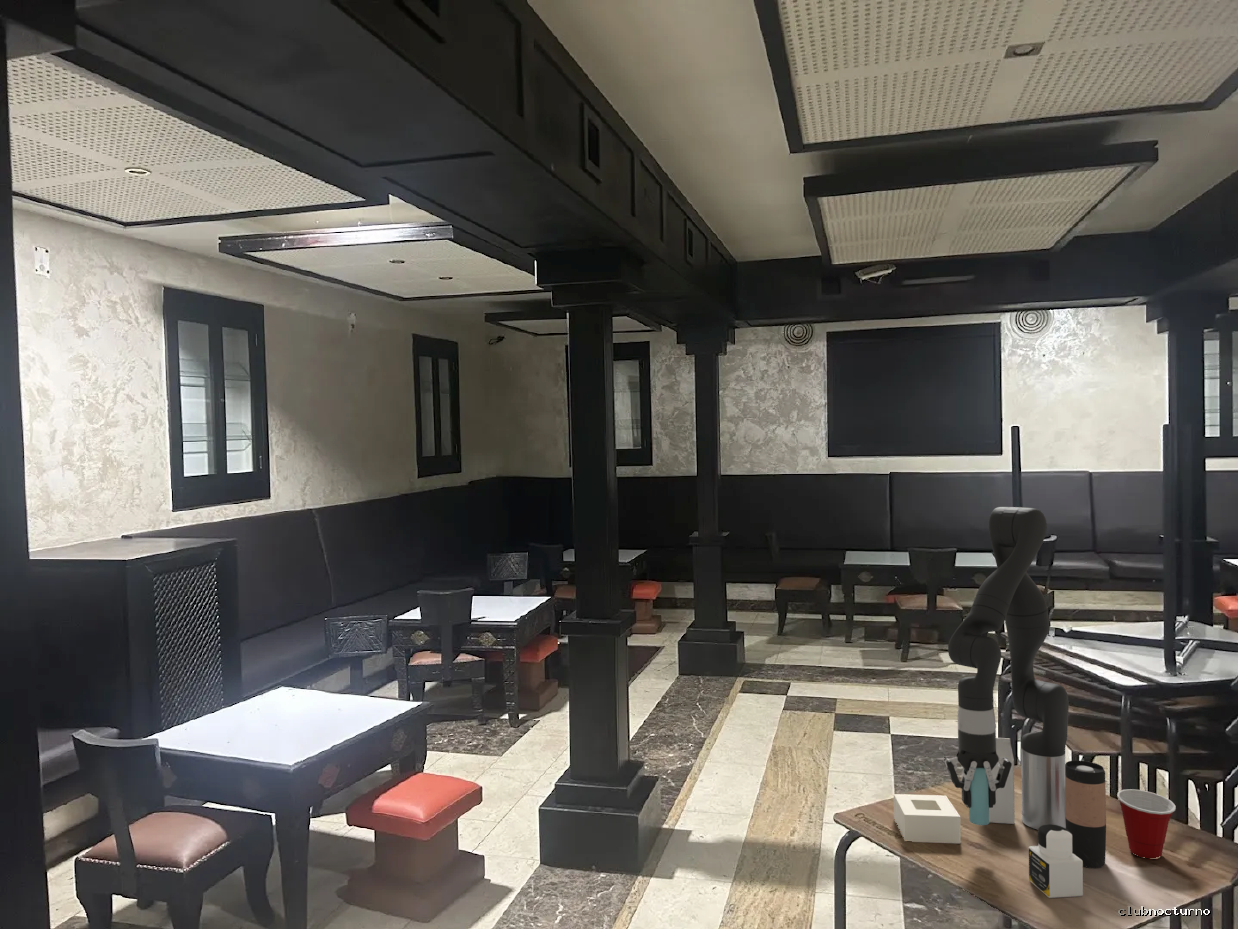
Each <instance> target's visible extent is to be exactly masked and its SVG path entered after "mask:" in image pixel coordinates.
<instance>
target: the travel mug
mask: <svg viewBox="0 0 1238 929" xmlns="http://www.w3.org/2000/svg"><path fill="white" fill-rule="evenodd" d="M1106 790H1107V789H1106V770H1105V768H1104V767H1103V766H1102V765H1101V764H1099V763H1095V762H1092V761H1088V760H1076V759H1075V760H1069V761H1065V822H1066V829H1067V830H1069V831H1070V832H1071V834H1072V853H1073V854H1074V855H1076V856H1077V857H1078V858H1080V859H1081V860H1082V861H1083V868H1089V869H1099V868H1103V867H1104V866H1105V865H1106V852H1107V850H1106V848H1107V847H1106V846H1107V844H1106V843H1107V804H1106V803H1107V800H1106V798H1107V796H1106V793H1107V792H1106Z"/></svg>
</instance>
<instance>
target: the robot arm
mask: <svg viewBox="0 0 1238 929" xmlns="http://www.w3.org/2000/svg"><path fill="white" fill-rule="evenodd" d="M1047 525H1048V524H1047V519H1046V516H1045V514H1044V512H1042V511H1041V510H1040V509H1038V508H1033V507H1023V506H1022V507H1021V506H1019V507H1017V506H1015V507H1014V506H998V507H995V508H994V509H993V510H992V511H991V513H990V515H989V519H988V532H989V539H990V543H991V548H992V552H993V555H994V559H995V564H996V567H997V568H996V569H995V570H994V571H993V572H992V573H991V574H990V575H989V576H987V578H985V580H984V581H983V582H982V583H981V585H980V586H979V588H978V590H977V592H976V595H975V597H974V600H973V602H972V605H971V608H970V610H969V613H968V614H967V615H966V616H965V618H963V620H962V622H961V623H960V624H959V626H958V627H957V628H956V630H955V631H954V633H953V634H951V637H950V639H949V642H948V646H947V651H948V657H949V658H950V660H951V661H952V662H953V663H954V664H955V665H959V666H962V667H967V668H973V669H976V670H977V671H976V675H975V676H965V677H962V678H960V679H959V680H958V684H957V693H958V694H957V696H958V697H957V700H958V709H957V742H958V744H957V747H958V748H957V752H956V756H954V757H951V758H949V757H945V758H943V761H944V762H943V763H944V764H945V767H946V769H947V771H948V774H949V777H950V779H951V780H950V781H951V783H952V784H953V785H954V787H955V788H956V789H960V790H961V801H962V803H963V805H965V806H966V809H967V808H968V809H969V808H971V791H970V790H969V789H970V785H971V781H972V780H973V776H974V772H975V769H976V768H984V769H985V770H986V775H987V779H988V789H989V808H993V805H995V804H996V790H997V789H998V788H1004V787H1005V784H1006V781H1007V778H1008V775H1009V772H1010V769H1011V766H1012V763H1011V762H1010V761H1009V760H1008V759H1007V758H1000V757H998V755H997V753H996V738H997V736H996V735H997V733H996V732H997V731H996V728H997V723H996V715H995V708H994V707H995V706H994V688H995V687H994V686H995V682H996V679H997V674H998V670H999V666H1000V664H1001V661H1002V648H1001V647H1000V645H999V643H998V641H997V640H996V639H994V638H993V637H990V636H987V635H983V634H986V633H994V632H998V631H1000V630H1001V629H1002V627H1003V625H1004V623H1005V630H1006V633H1007V634H1006V635H1007V640H1008V649H1009V656H1010V658H1009V659H1010V673H1011V674H1010V675H1011V696H1012V703H1013V708H1014V710H1015V712H1016V713H1017V714H1018V715H1019V716H1020V717H1022V718H1026V719H1030V720H1034V721H1035V722H1040V723H1042V731H1041V730H1040V731H1034V732H1027V733H1025V734H1023V735H1022V736H1021V740H1020V741H1021V743H1020V748H1021V751H1020V753H1021V755H1020V756H1021V820H1022V823H1023V824H1024V825H1025V826H1027V827H1029V828H1032V829H1034V830H1037V831H1038V828H1039V827H1040V826H1042V825H1048V824H1052V825H1058V826H1061V827H1064V828H1066V822H1065V764H1066V745H1067V740H1068V730H1069V729H1068V728H1069V727H1068V722H1069V704H1070V703H1069V702H1070V701H1069V696H1068V692H1067V690H1066V688H1065V687H1064V686H1063V685H1060V684H1057V683H1053V682H1048V681H1043V680H1040V679H1036V678H1035V672H1034V661H1035V658H1036V655H1037V653H1038V651H1039V650H1040V649H1041V646H1043V643H1044V642H1045V640H1046V639H1047V637H1048V636H1049V635H1048V634H1049V631H1050V618H1049V611H1048V604H1047V601H1046V597H1045V596H1044V594H1043V592H1042V591H1041V589H1040V588H1039V587H1038V585H1037V584H1036V582H1034V580H1033V579H1032V578H1031V576H1030V574H1028V572H1027V571H1028V569H1029V568H1030V566H1031V565H1032V563H1033V561H1034V559H1035V558H1036V556H1037V554H1038V552H1039V551H1040V548H1041V546H1042V545H1043V542H1044V541H1045V538H1046V534H1047ZM958 763H959V764H960V766H962V772H961V774H962V775H961V778H960V779H959V777H958V774H957V771H956V769H957V768H958ZM997 763H998V766H999V767H1000V768H999V771H998V774H997V777H996V780H994V778H993V775H992V769H993V768H994V767H995V765H996V764H997Z"/></svg>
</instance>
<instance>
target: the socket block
mask: <svg viewBox="0 0 1238 929" xmlns="http://www.w3.org/2000/svg"><path fill="white" fill-rule="evenodd" d="M894 819H895V820H894ZM893 820H894V823H895V824H896V823H897V824H896V826H897V825H898V826H897V828H898V830H899V829H900V830H899V832H900V831H901V832H900V835H901V836H902V835H903V836H902V838H903V837H904V838H903V841H905V840H908V841H912V842H911V843H938V844H961V839H962V837H961V815H960V814H959V813H958V811H957V809H956V807H955V806H954V805H953V804H952V802H951V801H950V800H949V798H948V797H947V795H940V794H939V795H937V794H910V793H908V794H904V793H903V794H902V793H893Z"/></svg>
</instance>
